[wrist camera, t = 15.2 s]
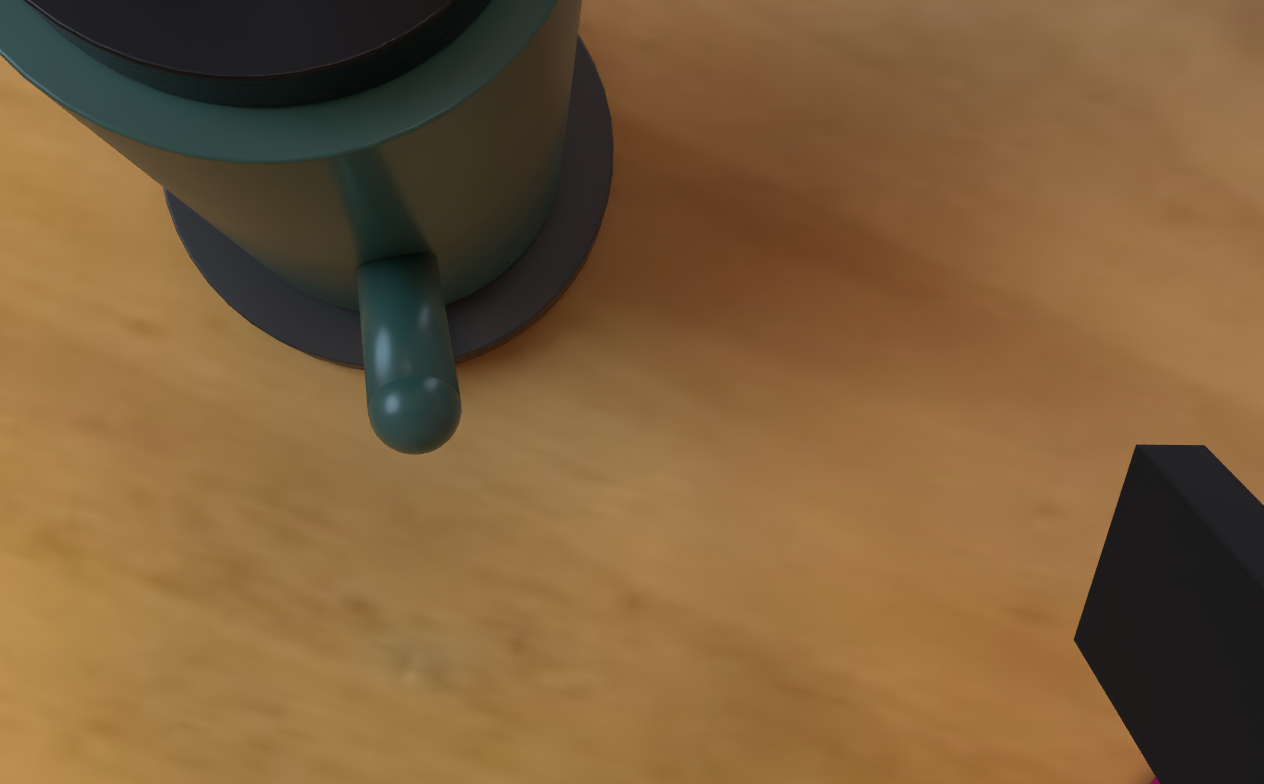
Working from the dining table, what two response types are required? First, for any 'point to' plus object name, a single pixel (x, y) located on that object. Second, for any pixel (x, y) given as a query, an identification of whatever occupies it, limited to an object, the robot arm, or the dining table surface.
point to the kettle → (335, 148)
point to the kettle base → (470, 319)
